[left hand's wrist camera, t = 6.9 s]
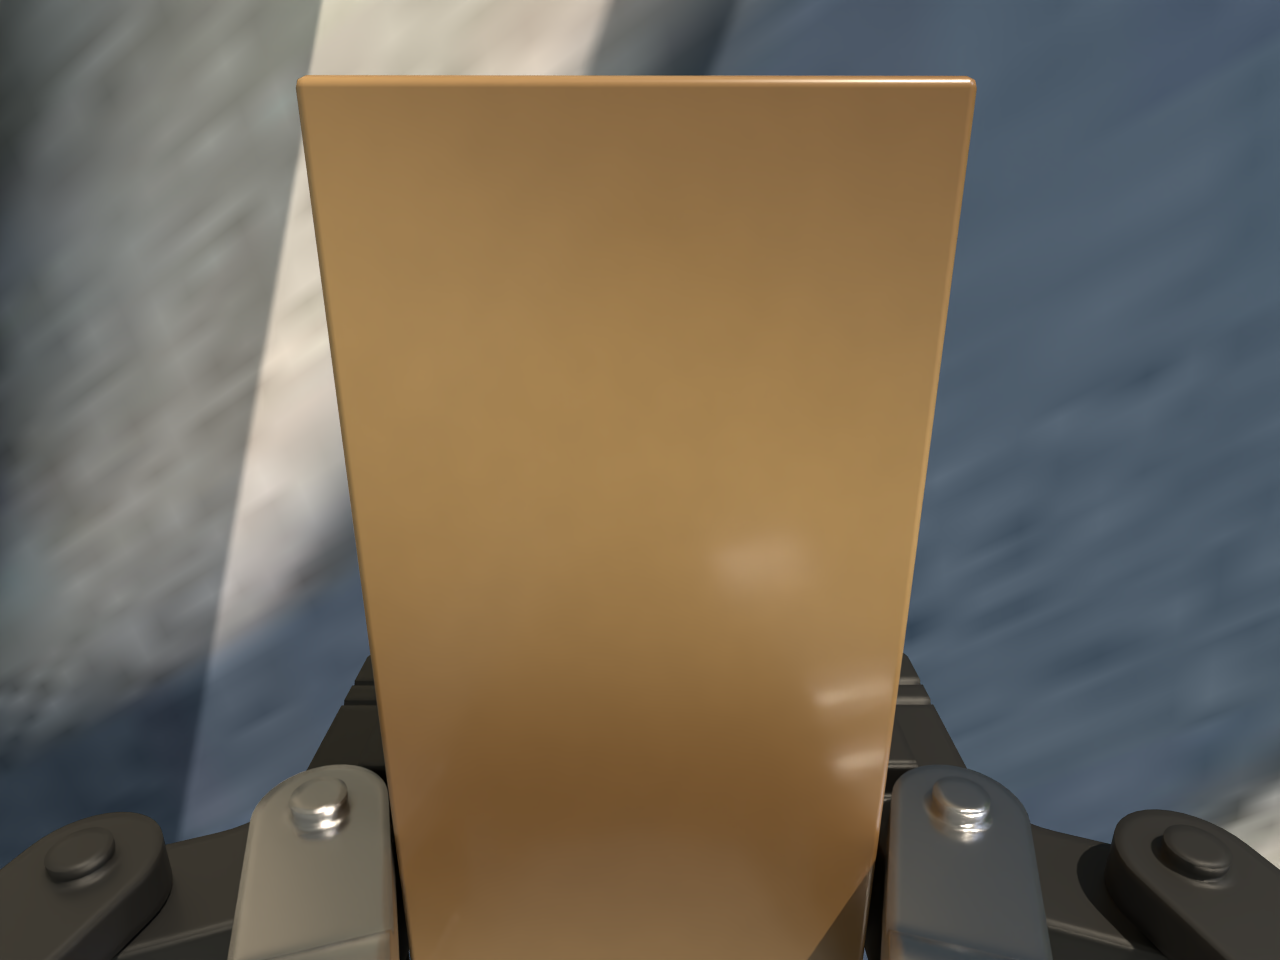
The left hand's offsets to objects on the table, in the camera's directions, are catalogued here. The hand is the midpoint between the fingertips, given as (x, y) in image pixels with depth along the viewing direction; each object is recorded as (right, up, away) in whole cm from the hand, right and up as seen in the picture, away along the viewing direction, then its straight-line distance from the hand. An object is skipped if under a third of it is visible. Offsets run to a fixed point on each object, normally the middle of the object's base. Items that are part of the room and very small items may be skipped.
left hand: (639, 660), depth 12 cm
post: (0, -31, +16) cm, 35 cm away
